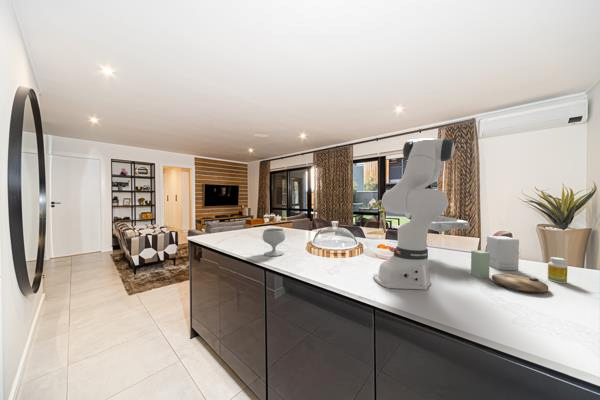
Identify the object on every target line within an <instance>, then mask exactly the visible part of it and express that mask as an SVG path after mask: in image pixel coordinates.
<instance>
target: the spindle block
mask: <svg viewBox="0 0 600 400" xmlns="http://www.w3.org/2000/svg"><path fill="white" fill-rule="evenodd" d="M470 253H471V255H470V256H471V257H470V260H471V261H470V275H471V276H473V277H475V278H478V279H490V267H491V266H490V253H488V252H487V251H484V250H481V249H480V250H478V249H477V250H471V252H470Z"/></svg>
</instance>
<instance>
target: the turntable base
mask: <svg viewBox="0 0 600 400" xmlns="http://www.w3.org/2000/svg"><path fill="white" fill-rule="evenodd" d="M498 285H500V286H502V287H503V288H507V289H510V290H513V291H515V292H516V291H517V292H522V293H527V294H528V293H529V294H540V293H541V292H530V291H523V290H518V289H514V288H510V287H507V286H504V285H501V284H498Z"/></svg>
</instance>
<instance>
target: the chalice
mask: <svg viewBox="0 0 600 400" xmlns="http://www.w3.org/2000/svg"><path fill="white" fill-rule="evenodd" d="M285 239H286V233H285V231H284V229H283V228H276V227H275V228H267V229H264V230H263V232H262V241H263V242H265V243H266V244H268V245H270V246H271V248H272V250H269V251H265V252H264V255H265V256H267V257H278V256H282V255H284V254H285V253H284V251H282V250H276V247H277V246H278V245H279V244H281V243H283V242H284V241H285Z"/></svg>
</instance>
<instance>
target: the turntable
mask: <svg viewBox="0 0 600 400" xmlns="http://www.w3.org/2000/svg"><path fill="white" fill-rule="evenodd" d="M491 280H492V281H493V282H494V283H496V284H498V285H499V284H501V285H504V286H507V287H510V288H514V289H518V290H523V291H530V292H540V293H545V292H547V291H549V285H548V284H546V283H545V282H542V281H540V280H539V278H537V277H527V276H524V275H517V274H511V273H494V274H492V275H491ZM501 285H500V286H501Z"/></svg>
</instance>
